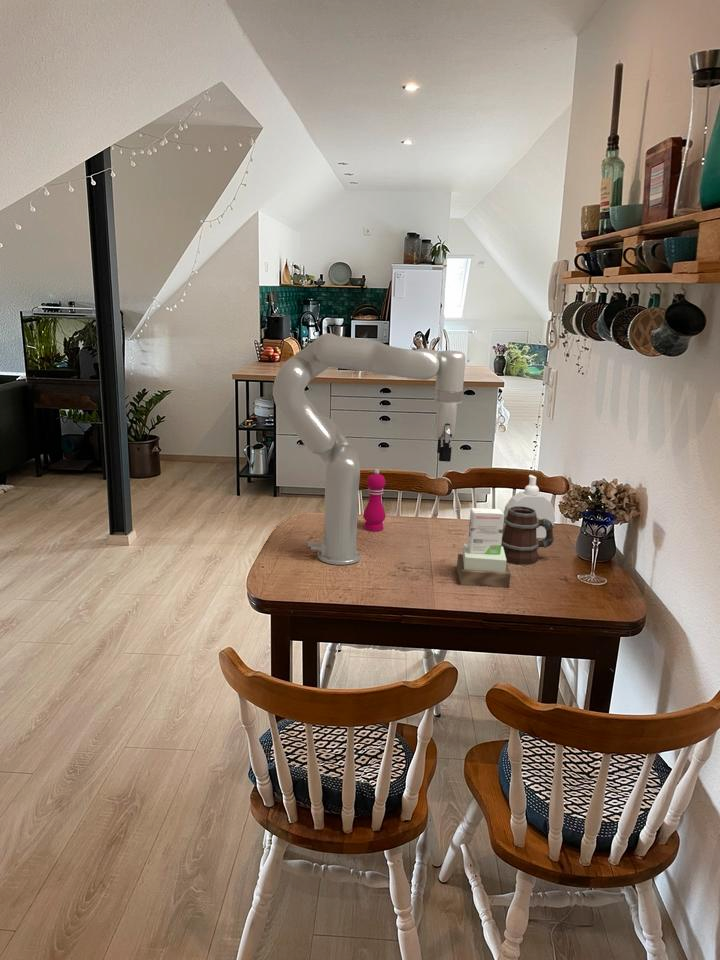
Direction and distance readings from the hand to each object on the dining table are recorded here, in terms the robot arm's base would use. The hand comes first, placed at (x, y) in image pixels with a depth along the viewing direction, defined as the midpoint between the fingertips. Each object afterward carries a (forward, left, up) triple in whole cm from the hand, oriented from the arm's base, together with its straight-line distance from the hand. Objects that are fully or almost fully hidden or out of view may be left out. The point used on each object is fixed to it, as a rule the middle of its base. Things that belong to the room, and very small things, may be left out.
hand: (443, 457), depth 207 cm
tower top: (+12, -10, -27) cm, 32 cm away
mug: (+27, +7, -31) cm, 42 cm away
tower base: (+12, -10, -32) cm, 36 cm away
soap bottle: (+31, +28, -31) cm, 52 cm away
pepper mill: (-19, +26, -31) cm, 45 cm away
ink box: (+12, -10, -24) cm, 29 cm away
